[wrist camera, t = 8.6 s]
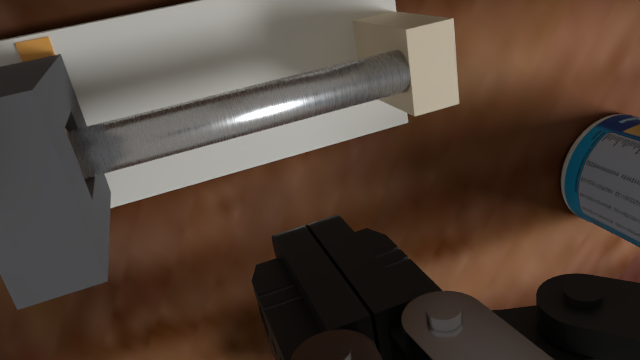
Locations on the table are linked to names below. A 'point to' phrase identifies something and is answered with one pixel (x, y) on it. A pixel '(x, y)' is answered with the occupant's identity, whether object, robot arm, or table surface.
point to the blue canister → (606, 176)
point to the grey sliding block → (47, 189)
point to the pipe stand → (241, 73)
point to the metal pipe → (236, 113)
